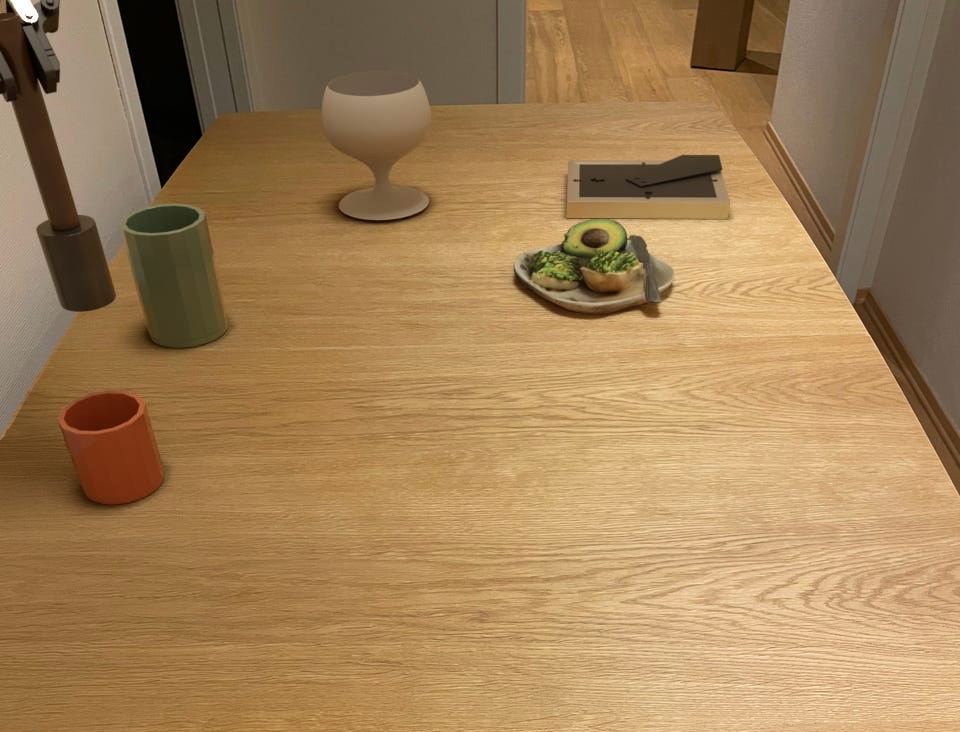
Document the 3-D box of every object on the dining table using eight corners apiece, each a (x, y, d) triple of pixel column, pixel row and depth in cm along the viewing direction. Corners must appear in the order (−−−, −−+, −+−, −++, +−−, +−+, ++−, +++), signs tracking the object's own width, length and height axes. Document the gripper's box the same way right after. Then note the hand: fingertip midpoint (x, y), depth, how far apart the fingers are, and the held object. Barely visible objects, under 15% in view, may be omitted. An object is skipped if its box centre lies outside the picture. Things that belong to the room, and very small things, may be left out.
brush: (55, 313, 80) (-41, 25, 66) (65, 290, 83) (-24, 10, 69) (111, 309, 80) (28, 22, 67) (119, 286, 83) (41, 7, 70)
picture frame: (716, 176, 141) (567, 176, 142) (719, 154, 139) (568, 154, 140) (727, 218, 129) (566, 218, 131) (731, 196, 128) (567, 195, 129)
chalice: (367, 234, 129) (354, 106, 118) (313, 203, 137) (297, 81, 127) (456, 208, 134) (451, 84, 124) (399, 180, 143) (390, 61, 133)
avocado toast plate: (717, 301, 112) (723, 260, 109) (578, 337, 107) (580, 295, 103) (624, 241, 125) (627, 203, 122) (496, 271, 119) (495, 232, 116)
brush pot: (76, 508, 86) (50, 437, 81) (90, 462, 91) (66, 393, 86) (159, 501, 87) (138, 430, 82) (168, 455, 92) (149, 386, 87)
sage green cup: (145, 351, 107) (114, 237, 99) (154, 315, 113) (126, 206, 105) (225, 344, 107) (201, 231, 99) (230, 310, 114) (207, 201, 105)
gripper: (15, -114, 75) (122, 103, 76) (-187, -91, 69) (-67, 143, 70) (13, -204, 68) (131, 36, 69) (-211, -187, 62) (-78, 74, 63)
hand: (31, 89), depth 70 cm, fingers closed on brush, 2 cm apart
